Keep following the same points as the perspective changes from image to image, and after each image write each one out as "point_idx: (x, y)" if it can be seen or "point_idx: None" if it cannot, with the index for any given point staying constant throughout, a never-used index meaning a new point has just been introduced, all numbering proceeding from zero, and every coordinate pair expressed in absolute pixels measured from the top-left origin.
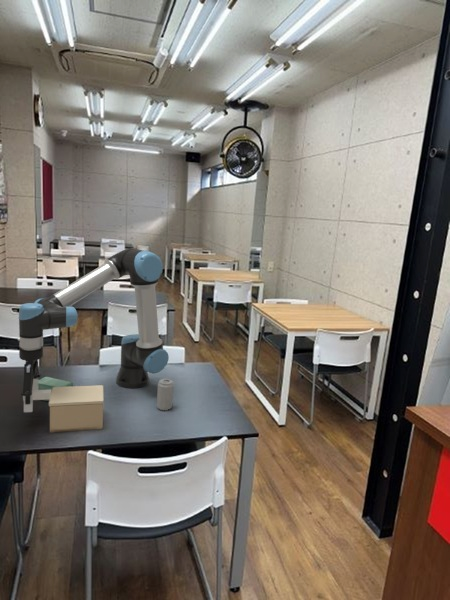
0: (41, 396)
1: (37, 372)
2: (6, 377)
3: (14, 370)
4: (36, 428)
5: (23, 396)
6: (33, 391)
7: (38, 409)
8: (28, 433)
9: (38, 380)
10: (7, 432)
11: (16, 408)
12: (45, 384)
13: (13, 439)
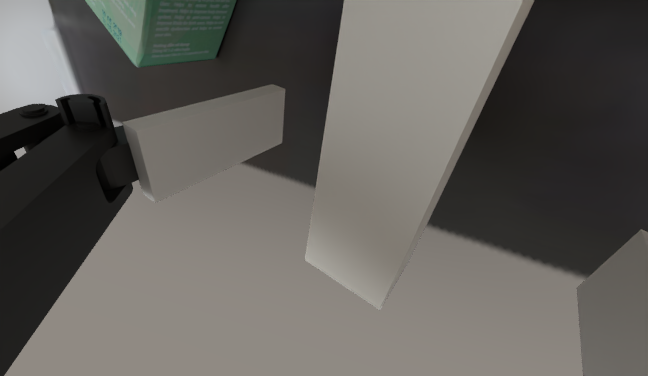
0: (473, 122)
1: (20, 172)
2: (122, 121)
3: (90, 93)
4: (543, 99)
5: (392, 287)
6: (349, 209)
7: (307, 52)
8: (587, 160)
9: (120, 44)
10: (488, 238)
11: (282, 142)
12: (144, 5)
13: (606, 248)
